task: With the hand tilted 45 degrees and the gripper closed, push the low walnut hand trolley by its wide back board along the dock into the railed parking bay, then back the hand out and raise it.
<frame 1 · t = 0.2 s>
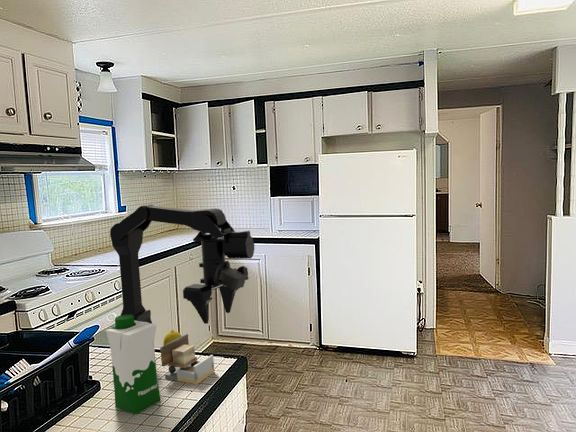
hand: (217, 317, 116), 14 cm above the table, tool pointing down, fingers open, 9 cm apart
dock: (183, 373, 117), on the table
lemon: (174, 358, 128), on the table
trolley: (182, 355, 116), point 5 cm above the table, slide at 0.0 cm
milk carton: (138, 405, 102), on the table
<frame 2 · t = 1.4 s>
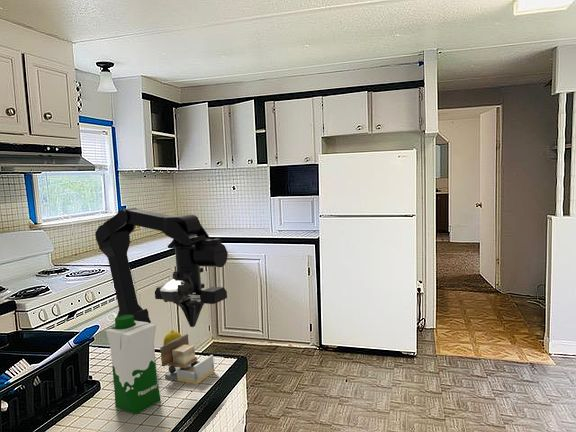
hand: (192, 326, 114), 13 cm above the table, tool pointing down, fingers closed
nothing on the table moved.
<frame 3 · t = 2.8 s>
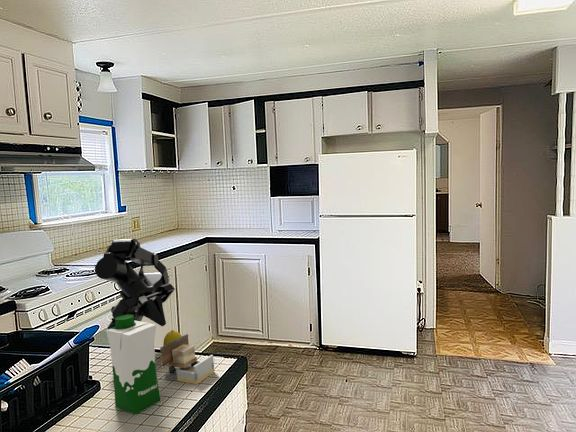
hand: (164, 325, 118), 12 cm above the table, tool tilted 45°, fingers closed
nothing on the table moved.
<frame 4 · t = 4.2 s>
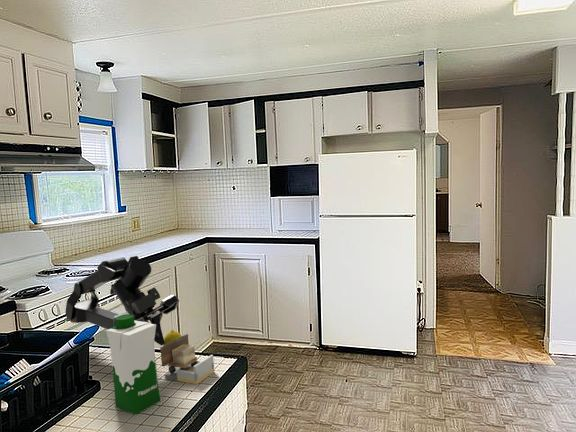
hand: (163, 344, 118), 7 cm above the table, tool tilted 40°, fingers closed
nothing on the table moved.
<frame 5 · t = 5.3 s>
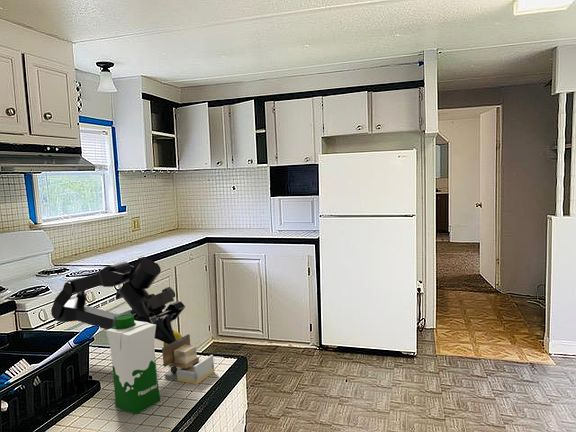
hand: (174, 344, 117), 8 cm above the table, tool tilted 45°, fingers closed, pressing on trolley
trolley: (184, 355, 116), point 5 cm above the table, slide at 0.6 cm, touching gripper
everything else where it was.
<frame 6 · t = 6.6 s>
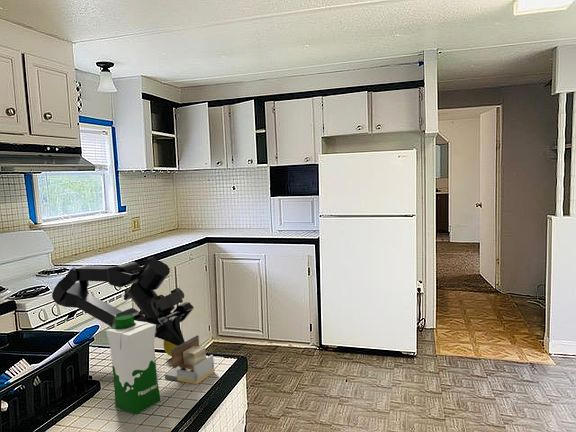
hand: (183, 346, 116), 8 cm above the table, tool tilted 45°, fingers closed
trolley: (193, 357, 115), point 5 cm above the table, slide at 3.5 cm
everything else where it was.
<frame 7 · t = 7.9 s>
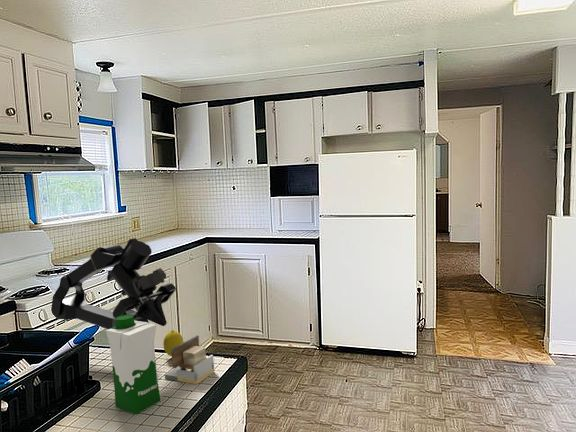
hand: (165, 324, 118), 13 cm above the table, tool tilted 45°, fingers closed
nothing on the table moved.
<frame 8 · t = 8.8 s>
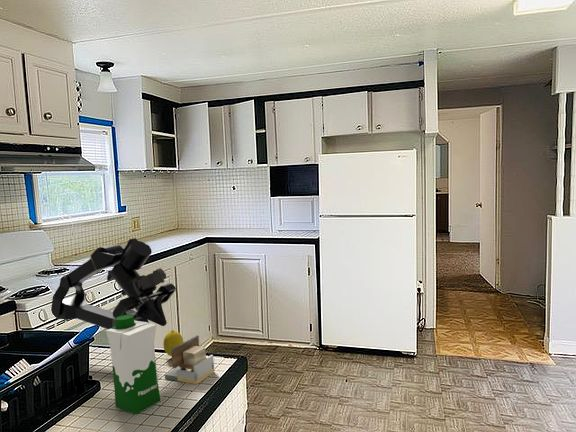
hand: (165, 324, 118), 13 cm above the table, tool tilted 45°, fingers closed
nothing on the table moved.
at the end: trolley slide at 3.5 cm; milk carton moved 0.2 cm from its start; lemon moved 0.2 cm from its start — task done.
